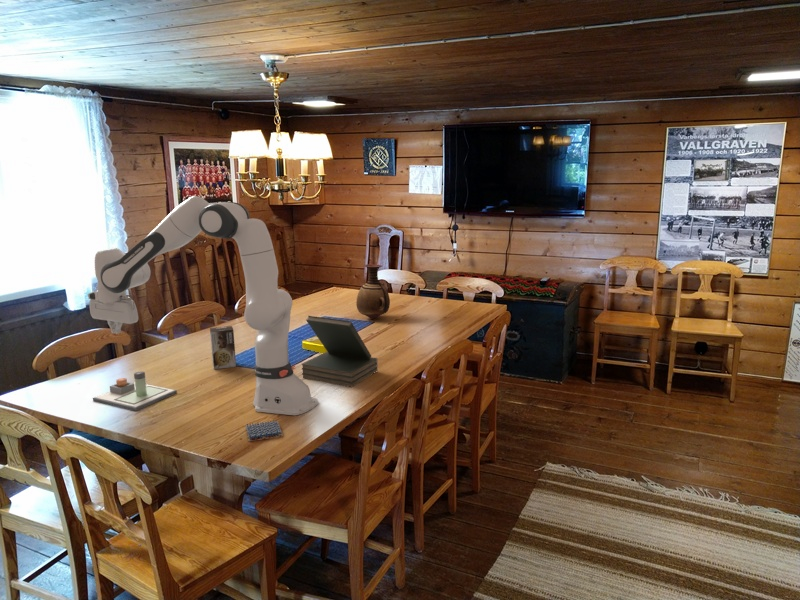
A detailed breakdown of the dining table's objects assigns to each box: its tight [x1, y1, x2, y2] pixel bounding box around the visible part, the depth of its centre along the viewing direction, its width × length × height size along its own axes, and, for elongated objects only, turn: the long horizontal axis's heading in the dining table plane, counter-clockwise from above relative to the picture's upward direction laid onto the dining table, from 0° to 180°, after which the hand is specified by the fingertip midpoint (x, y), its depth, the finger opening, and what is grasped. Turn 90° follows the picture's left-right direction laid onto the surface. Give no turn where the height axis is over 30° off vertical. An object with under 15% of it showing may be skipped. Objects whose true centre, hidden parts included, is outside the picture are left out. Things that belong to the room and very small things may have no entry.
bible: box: [301, 315, 378, 388], centre depth 225 cm, size 23×20×25 cm
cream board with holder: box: [92, 381, 178, 412], centre depth 205 cm, size 21×18×4 cm
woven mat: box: [244, 419, 284, 442], centre depth 177 cm, size 10×11×2 cm
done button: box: [115, 377, 128, 387], centre depth 207 cm, size 3×3×2 cm
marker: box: [133, 371, 147, 396], centre depth 203 cm, size 4×4×8 cm
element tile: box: [301, 335, 327, 354], centre depth 263 cm, size 15×15×5 cm
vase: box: [356, 263, 391, 319], centre depth 313 cm, size 21×18×30 cm
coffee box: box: [209, 325, 237, 370], centre depth 237 cm, size 9×6×16 cm
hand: (116, 333), depth 203 cm, fingers closed
